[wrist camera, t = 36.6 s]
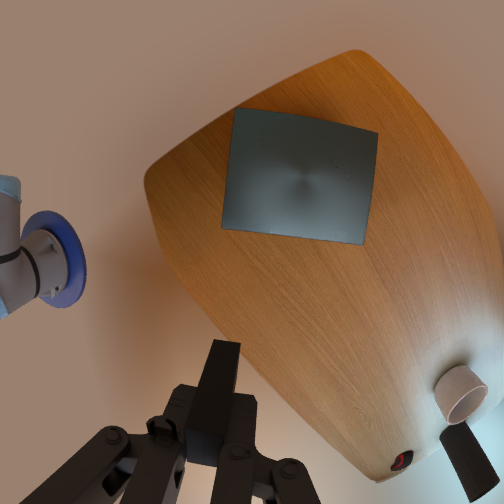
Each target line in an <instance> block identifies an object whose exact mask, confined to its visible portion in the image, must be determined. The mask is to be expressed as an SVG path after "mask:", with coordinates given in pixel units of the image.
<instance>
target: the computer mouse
mask: <svg viewBox="0 0 504 504" xmlns="http://www.w3.org/2000/svg"><path fill="white" fill-rule="evenodd" d="M412 459H413V451H407V452H404V453H402V454H400V455H399V456H398V457H397V458H396V460H395V463H394V464H393V466H392V467H391V471H397V470H401V469H404V468H406V467H407V466H408V465H410V464H411V462H412Z"/></svg>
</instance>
